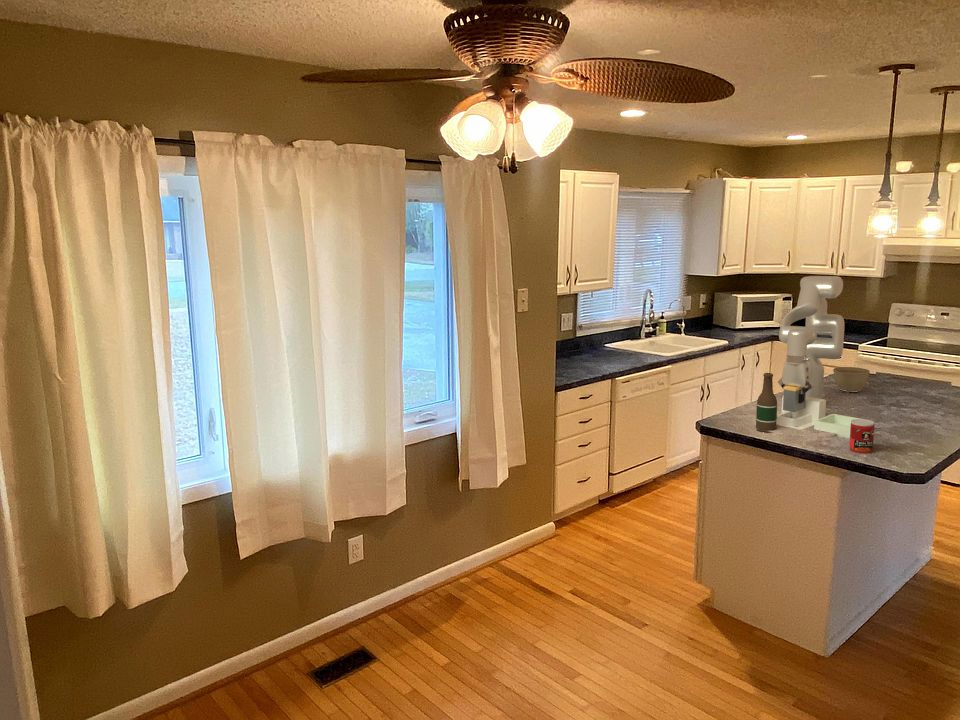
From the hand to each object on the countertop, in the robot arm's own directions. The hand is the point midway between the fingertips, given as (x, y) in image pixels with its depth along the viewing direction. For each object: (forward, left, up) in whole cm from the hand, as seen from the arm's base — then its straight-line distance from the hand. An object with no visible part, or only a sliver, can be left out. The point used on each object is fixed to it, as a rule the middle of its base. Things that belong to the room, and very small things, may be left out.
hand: (794, 401), depth 288 cm
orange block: (0, 0, -3) cm, 3 cm away
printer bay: (-1, 0, -10) cm, 10 cm away
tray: (-3, +18, -10) cm, 21 cm away
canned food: (+17, +34, -10) cm, 40 cm away
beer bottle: (+17, -3, -10) cm, 20 cm away
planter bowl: (-77, -10, -10) cm, 78 cm away
